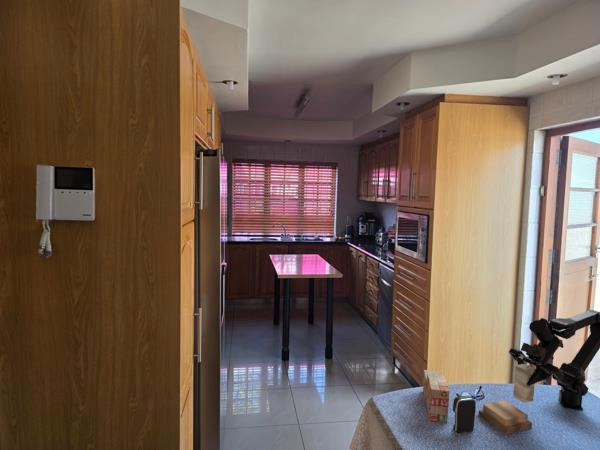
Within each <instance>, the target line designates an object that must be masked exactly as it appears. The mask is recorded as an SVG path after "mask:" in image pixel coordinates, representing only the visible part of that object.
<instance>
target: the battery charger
mask: <svg viewBox="0 0 600 450" xmlns="http://www.w3.org/2000/svg"><path fill="white" fill-rule="evenodd" d="M476 403H477V402H476V401H475V399H474V398H472V397H471V396H469V395H462V396H456V397H455V398H454V399H453V403H452V411H453V412H454V425H453V430H454V431H455V432H457V433H465V432H472V431H474V430H475V419H476V408H477V407H476V405H477V404H476Z"/></svg>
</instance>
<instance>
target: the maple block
mask: <svg viewBox="0 0 600 450" xmlns="http://www.w3.org/2000/svg"><path fill="white" fill-rule="evenodd" d="M482 406H483V407H482V410H483V411H484V412H485V413H487V414H488V415H489V416H491V417H492V418H494V419H495V420H496V421H498V422H499V423H501V424H502V425H503V426H505V427H506V426H510V425H515V424H520V423H524V422H527V420H529V417H528V414H527V413H526V412H524V411H522V410H521V409H519V408H518V407H516V406H515V405H513V404H511V403H510V402H508V401H507V400H506V399H505V400H504V399H503V400H499V401H494V402H488V403H484V404H483V405H482Z"/></svg>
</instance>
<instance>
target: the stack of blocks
mask: <svg viewBox="0 0 600 450" xmlns="http://www.w3.org/2000/svg"><path fill="white" fill-rule="evenodd" d="M422 382H423V384H422V385H423V386H422V387H423V388H422V389H423V391H422V392H423V397H424V403H425V407H426V410H427V416H428V421H429V422H434V423H435V422H436V423H442V424H443V423H444V424H448V418H449V404H450V388H449V386H448V383H447V380H446V378H445V376H444V374H441V373H440V371H439V370H437V371H436V370H427V369H423V381H422Z"/></svg>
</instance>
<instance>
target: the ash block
mask: <svg viewBox="0 0 600 450" xmlns="http://www.w3.org/2000/svg"><path fill="white" fill-rule="evenodd" d="M514 368H515V369H514V382H513V383H514V384H513V395H512V396H513V398H515V399H516V400H518V401H520V402H521V403H523V404H526V403H530V402H533V401H534V396H535V384H533V385H530V386H528V385H527V383H528V381H529V379H530V378H531V377H532V375H533V374H534V372H535V370H536V367H535V368H534V367H533V366H530V365H529V364H527V365H526V364H520V365H518V364H516V365H515V367H514Z"/></svg>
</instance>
